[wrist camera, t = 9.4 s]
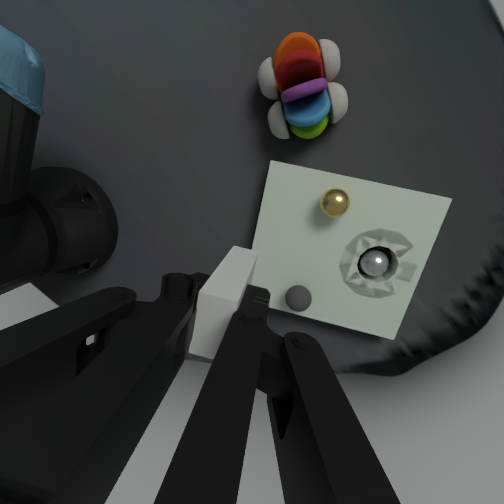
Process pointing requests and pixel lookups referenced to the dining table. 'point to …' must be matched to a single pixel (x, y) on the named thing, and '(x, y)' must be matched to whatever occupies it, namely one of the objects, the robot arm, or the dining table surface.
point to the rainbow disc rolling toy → (303, 86)
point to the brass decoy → (335, 202)
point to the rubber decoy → (298, 298)
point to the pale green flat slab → (343, 246)
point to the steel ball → (374, 262)
